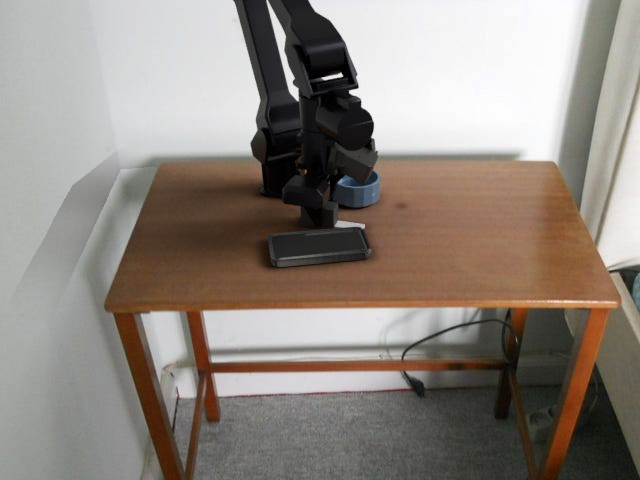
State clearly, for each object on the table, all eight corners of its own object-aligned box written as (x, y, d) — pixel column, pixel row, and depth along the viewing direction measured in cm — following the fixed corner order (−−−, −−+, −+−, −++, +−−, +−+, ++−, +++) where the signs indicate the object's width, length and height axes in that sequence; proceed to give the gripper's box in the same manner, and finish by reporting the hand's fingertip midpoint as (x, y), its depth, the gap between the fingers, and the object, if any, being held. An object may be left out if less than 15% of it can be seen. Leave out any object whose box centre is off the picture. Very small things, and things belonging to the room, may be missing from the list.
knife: (301, 225, 108) (300, 205, 106) (306, 217, 110) (305, 197, 108) (361, 234, 106) (361, 214, 104) (365, 226, 108) (365, 206, 106)
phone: (372, 252, 100) (271, 261, 98) (372, 258, 101) (272, 267, 99) (362, 225, 106) (267, 233, 104) (362, 231, 107) (267, 239, 104)
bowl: (326, 205, 113) (325, 184, 110) (340, 184, 119) (339, 163, 116) (372, 212, 112) (373, 190, 109) (384, 190, 118) (385, 169, 115)
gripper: (355, 158, 89) (355, 258, 100) (388, 107, 103) (385, 200, 113) (277, 148, 91) (284, 247, 102) (319, 99, 105) (322, 191, 115)
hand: (322, 220), depth 108 cm, fingers open, 4 cm apart
